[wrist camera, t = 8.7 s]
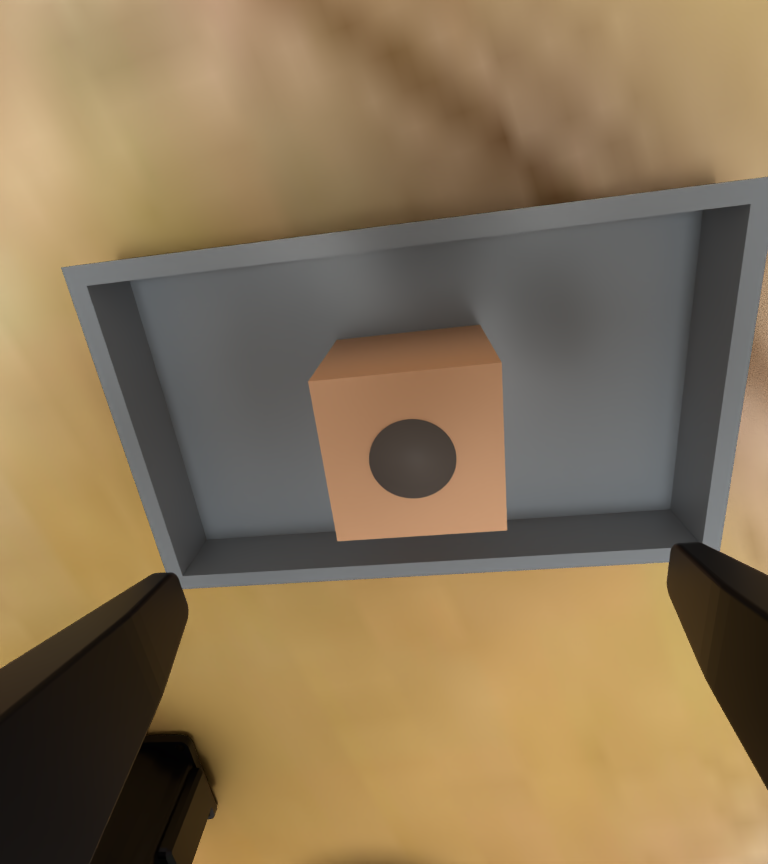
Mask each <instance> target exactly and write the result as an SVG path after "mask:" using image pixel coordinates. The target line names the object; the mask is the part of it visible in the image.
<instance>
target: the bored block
mask: <svg viewBox="0 0 768 864" xmlns="http://www.w3.org/2000/svg"><path fill="white" fill-rule="evenodd" d="M308 384H309V389H310V395H311V400H312V406H313V411H314V416H315V422H316V427H317V433H318V438H319V444H320V449H321V455H322V460H323V465H324V471H325V476H326V482H327V487H328V493H329V498H330V503H331V509H332V514H333V520H334V525H335V531H336V536H337V541H350V540H366V539H381V538H397V537H413V536H428V535H444V534H459V533H475V532H490V531H506V530H507V508H506V477H505V446H504V416H503V385H502V362H501V360H500V359H499V357H498V355H497V353H496V352H495V350H494V348H493V346H492V345H491V343H490V341H489V340H488V338H487V336H486V334H485V333H484V331H483V329H482V327H481V326H480V325H472V326H462V327H453V328H443V329H434V330H425V331H415V332H406V333H397V334H387V335H378V336H369V337H359V338H350V339H341V340H336V342H335V343H334V345H333V346H332V347H331V349H330V350H329V352H328V353H327V355H326V356H325V358H324V359H323V361H322V362H321V363H320V365H319V366H318V368H317V369H316V371H315V372H314V374H313V375H312V377H311V378H310V380H309V381H308Z"/></svg>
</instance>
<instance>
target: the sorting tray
mask: <svg viewBox="0 0 768 864" xmlns="http://www.w3.org/2000/svg"><path fill="white" fill-rule="evenodd" d="M767 250H768V177H763V178H755V179H747V180H739V181H730V182H722V183H714V184H706V185H699V186H691V187H683V188H675V189H667V190H660V191H652V192H644V193H636V194H628V195H621V196H613V197H605V198H597V199H589V200H582V201H574V202H566V203H558V204H550V205H543V206H535V207H527V208H519V209H511V210H504V211H496V212H488V213H480V214H472V215H465V216H457V217H449V218H441V219H433V220H426V221H418V222H410V223H402V224H394V225H387V226H379V227H371V228H363V229H355V230H348V231H340V232H332V233H324V234H316V235H309V236H301V237H293V238H285V239H277V240H270V241H262V242H254V243H246V244H238V245H231V246H223V247H215V248H207V249H199V250H192V251H184V252H176V253H168V254H160V255H153V256H145V257H137V258H129V259H122V260H114V261H106V262H99V263H91V264H84V265H76V266H69V267H62V268H61V269H62V272H63V275H64V277H65V280H66V283H67V286H68V289H69V292H70V295H71V298H72V301H73V304H74V307H75V309H76V312H77V315H78V318H79V321H80V324H81V327H82V330H83V333H84V336H85V338H86V341H87V344H88V347H89V350H90V353H91V356H92V359H93V362H94V365H95V368H96V370H97V373H98V376H99V379H100V382H101V385H102V388H103V391H104V394H105V397H106V399H107V402H108V405H109V408H110V411H111V414H112V417H113V420H114V423H115V426H116V428H117V431H118V434H119V437H120V440H121V443H122V446H123V449H124V452H125V455H126V458H127V460H128V463H129V466H130V469H131V472H132V475H133V478H134V481H135V484H136V487H137V489H138V492H139V495H140V498H141V501H142V504H143V507H144V510H145V513H146V516H147V519H148V521H149V524H150V527H151V530H152V533H153V536H154V539H155V542H156V545H157V548H158V550H159V553H160V556H161V559H162V562H163V565H164V568H165V571H166V573H168V572H172V573H175V574H176V575H177V576H178V578H179V581H180V584H181V587H182V589H192V588H210V587H228V586H247V585H265V584H283V583H301V582H319V581H337V580H355V579H373V578H391V577H410V576H428V575H446V574H464V573H482V572H500V571H518V570H536V569H555V568H573V567H591V566H609V565H627V564H645V563H663V562H669V558H670V551H671V548H672V546H673V545H674V544H675V543H681V542H701V543H703V544H705V545H707V546H709V547H711V548H713V549H715V550H717V551H720V546H721V540H722V533H723V527H724V521H725V514H726V508H727V502H728V496H729V489H730V483H731V477H732V470H733V464H734V458H735V451H736V445H737V439H738V432H739V426H740V420H741V414H742V407H743V401H744V395H745V388H746V382H747V376H748V369H749V363H750V357H751V351H752V344H753V338H754V332H755V325H756V319H757V313H758V306H759V300H760V294H761V288H762V281H763V275H764V269H765V262H766V256H767ZM472 325H480V326H481V327H482V329H483V331H484V333H485V334H486V336H487V338H488V340H489V341H490V343H491V345H492V346H493V348H494V350H495V352H496V353H497V355H498V357H499V359H500V360H501V362H502V385H503V416H504V446H505V477H506V508H507V530H506V531H490V532H475V533H459V534H444V535H428V536H413V537H397V538H381V539H366V540H350V541H337V536H336V531H335V525H334V520H333V514H332V509H331V503H330V498H329V493H328V487H327V482H326V476H325V471H324V465H323V460H322V455H321V449H320V444H319V438H318V433H317V427H316V422H315V416H314V411H313V406H312V400H311V395H310V389H309V384H308V381H309V380H310V378H311V377H312V375H313V374H314V372H315V371H316V369H317V368H318V366H319V365H320V363H321V362H322V361H323V359H324V358H325V356H326V355H327V353H328V352H329V350H330V349H331V347H332V346H333V345H334V343H335V342H336V340H341V339H350V338H359V337H369V336H378V335H387V334H397V333H406V332H415V331H425V330H434V329H443V328H453V327H462V326H472Z"/></svg>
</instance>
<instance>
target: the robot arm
mask: <svg viewBox="0 0 768 864" xmlns="http://www.w3.org/2000/svg"><path fill="white" fill-rule="evenodd" d="M667 589H668V593H669V596H670V598H671V601H672V603H673V605H674V608H675V610H676V612H677V615H678V617H679V619H680V622H681V624H682V626H683V629H684V631H685V633H686V636H687V638H688V640H689V643H690V645H691V647H692V650H693V652H694V654H695V657H696V659H697V661H698V664H699V666H700V668H701V670H702V672H703V674H704V677H705V679H706V681H707V683H708V684H709V686H710V688H711V690H712V692H713V694H714V696H715V697H716V699H717V701H718V703H719V704H720V706H721V708H722V710H723V712H724V713H725V715H726V717H727V719H728V720H729V722H730V724H731V726H732V727H733V729H734V731H735V733H736V735H737V736H738V738H739V740H740V742H741V743H742V745H743V747H744V749H745V751H746V752H747V754H748V756H749V758H750V759H751V761H752V763H753V765H754V767H755V768H756V770H757V772H758V774H759V775H760V777H761V779H762V781H763V782H764V784H765V786H766V788H767V790H768V575H766V574H764V573H762V572H760V571H758V570H756V569H754V568H752V567H750V566H748V565H746V564H744V563H742V562H740V561H738V560H736V559H734V558H732V557H730V556H728V555H726V554H724V553H722V552H720V551H717V550H715V549H713V548H711V547H709V546H707V545H705V544H703V543H701V542H681V543H675V544H674V545H673V546H672V548H671V551H670V558H669V567H668V576H667ZM187 619H188V604H187V601H186V598H185V596H184V593H183V590H182V587H181V584H180V581H179V578H178V576H177V575H176V574H175V573H172V572H168V573H154V574H151V575H150V576H148V577H146V578H145V579H143V580H142V581H140V582H138V583H137V584H135V585H134V586H132V587H130V588H129V589H127V590H126V591H124V592H122V593H121V594H119V595H118V596H116V597H114V598H113V599H111V600H110V601H108V602H106V603H105V604H103V605H102V606H100V607H98V608H97V609H95V610H94V611H92V612H90V613H89V614H87V615H86V616H84V617H82V618H81V619H79V620H78V621H76V622H74V623H73V624H71V625H70V626H68V627H66V628H65V629H63V630H62V631H60V632H58V633H57V634H55V635H54V636H52V637H50V638H49V639H47V640H46V641H44V642H42V643H41V644H39V645H38V646H36V647H34V648H33V649H31V650H29V651H28V652H26V653H25V654H23V655H21V656H20V657H18V658H17V659H15V660H13V661H12V662H10V663H9V664H7V665H5V666H4V667H2V668H1V669H0V864H192V862H193V859H194V856H195V853H196V850H197V848H198V845H199V842H200V839H201V836H202V833H203V831H204V828H205V825H206V822H207V819H212V818H214V816H215V813H216V810H217V805H216V802H215V800H214V797H213V795H212V792H211V789H210V787H209V784H208V781H207V779H206V776H205V773H204V771H203V768H202V766H201V763H200V760H199V758H198V755H197V752H196V750H195V747H194V744H193V742H192V740H191V738H189V737H188V736H186V735H146V733H147V731H148V729H149V726H150V724H151V722H152V719H153V717H154V715H155V713H156V710H157V708H158V705H159V703H160V700H161V698H162V696H163V693H164V690H165V687H166V684H167V682H168V678H169V675H170V672H171V669H172V666H173V663H174V660H175V657H176V654H177V650H178V647H179V644H180V641H181V638H182V635H183V632H184V629H185V626H186V623H187Z"/></svg>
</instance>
